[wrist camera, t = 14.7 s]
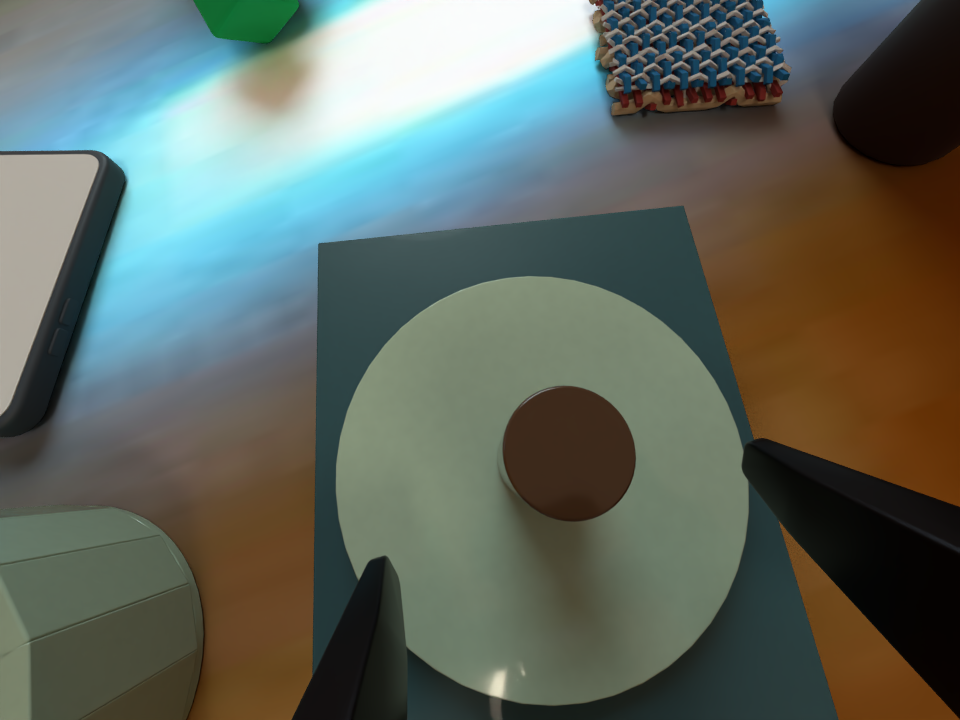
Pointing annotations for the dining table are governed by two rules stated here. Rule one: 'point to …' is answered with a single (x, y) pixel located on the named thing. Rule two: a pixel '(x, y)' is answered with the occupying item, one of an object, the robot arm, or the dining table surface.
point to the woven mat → (688, 54)
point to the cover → (544, 489)
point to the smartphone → (46, 267)
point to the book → (686, 311)
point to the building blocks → (246, 18)
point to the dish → (95, 617)
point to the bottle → (907, 90)
